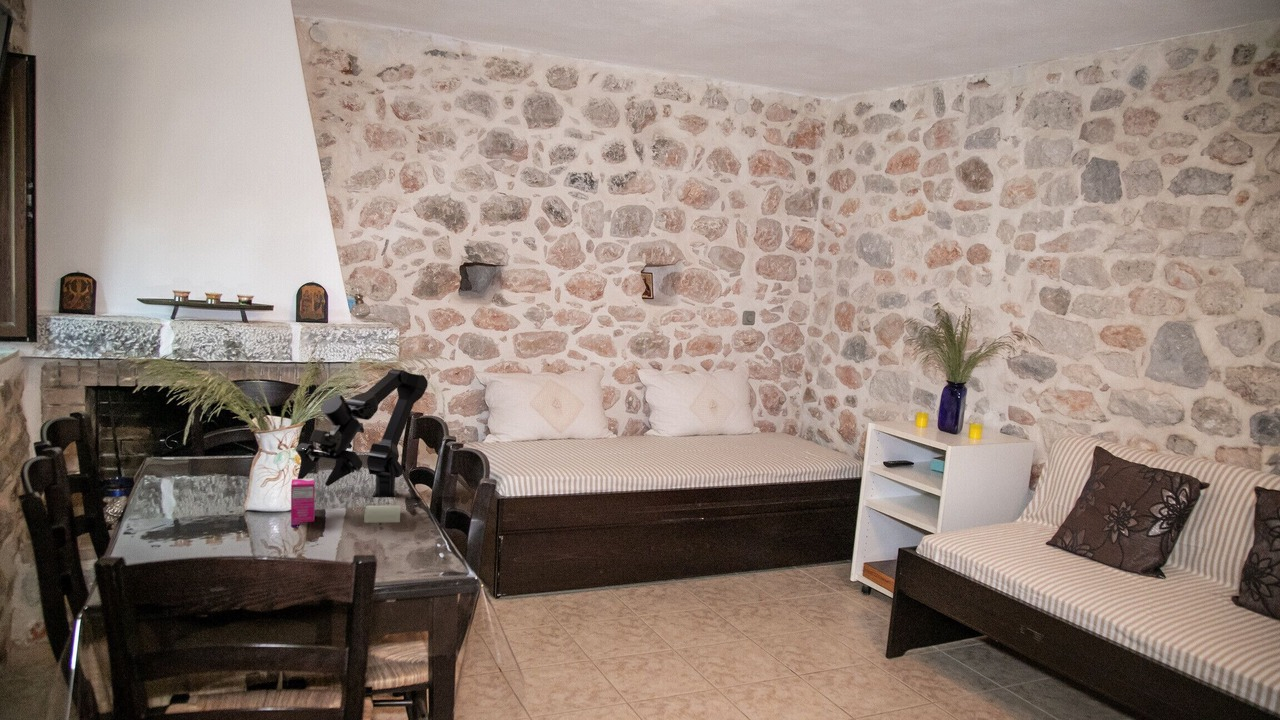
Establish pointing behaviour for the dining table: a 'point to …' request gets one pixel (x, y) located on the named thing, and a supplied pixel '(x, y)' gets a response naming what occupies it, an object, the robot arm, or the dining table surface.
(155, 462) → the dining table surface
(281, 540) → the dining table surface
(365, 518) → the tower top block
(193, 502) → the dining table surface
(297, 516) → the supplement box
